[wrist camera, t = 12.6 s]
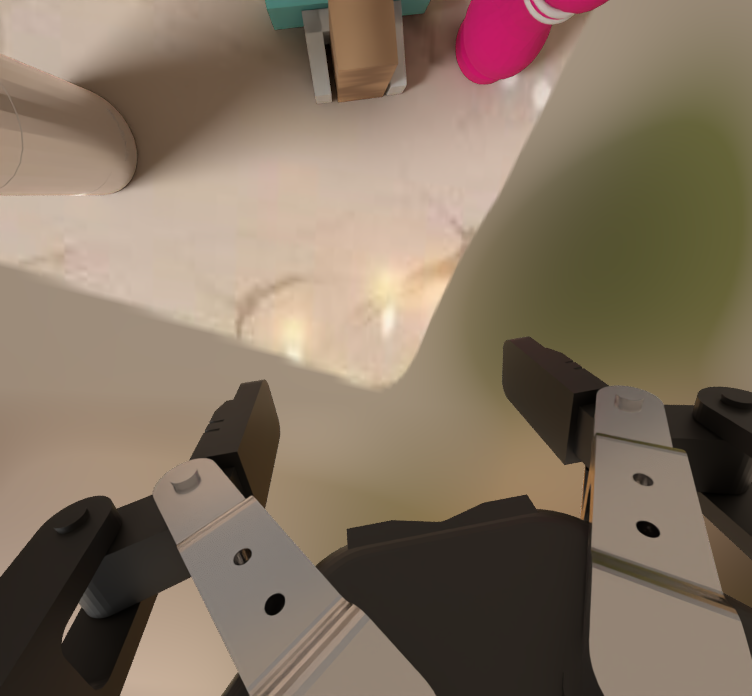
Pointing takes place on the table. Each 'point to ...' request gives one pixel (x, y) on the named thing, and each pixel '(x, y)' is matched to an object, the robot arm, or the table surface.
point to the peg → (362, 47)
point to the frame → (319, 36)
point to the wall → (289, 3)
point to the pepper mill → (509, 34)
